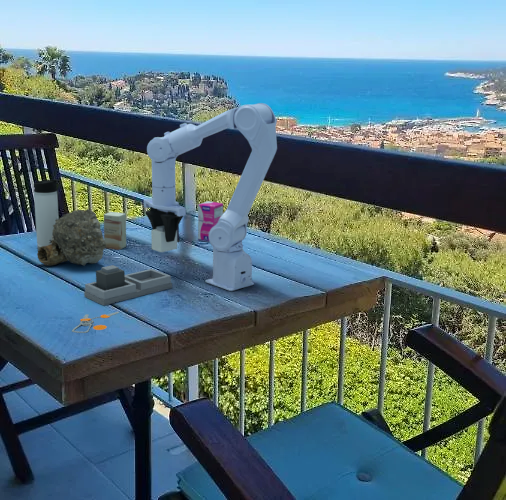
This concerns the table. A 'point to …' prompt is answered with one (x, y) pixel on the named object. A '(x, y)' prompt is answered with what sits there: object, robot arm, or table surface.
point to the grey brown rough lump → (74, 240)
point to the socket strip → (130, 287)
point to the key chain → (86, 319)
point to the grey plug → (162, 240)
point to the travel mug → (45, 210)
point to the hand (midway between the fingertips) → (164, 239)
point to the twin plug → (110, 278)
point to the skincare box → (115, 230)
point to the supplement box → (208, 218)
